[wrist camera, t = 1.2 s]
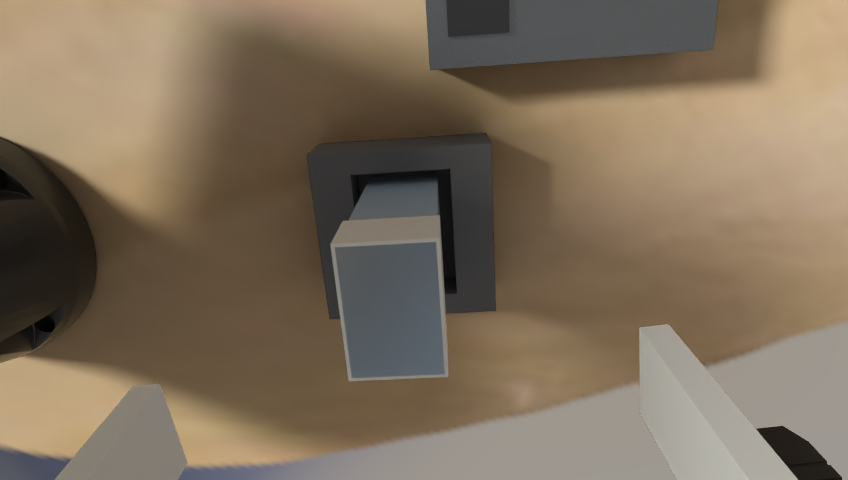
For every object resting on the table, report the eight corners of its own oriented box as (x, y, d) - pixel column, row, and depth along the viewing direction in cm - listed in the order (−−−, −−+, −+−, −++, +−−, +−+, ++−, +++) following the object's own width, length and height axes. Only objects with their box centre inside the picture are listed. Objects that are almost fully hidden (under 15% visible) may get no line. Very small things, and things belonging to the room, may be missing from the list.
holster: (339, 294, 37) (329, 319, 34) (319, 143, 34) (306, 155, 30) (490, 286, 37) (495, 311, 33) (485, 132, 33) (490, 143, 30)
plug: (377, 272, 35) (348, 381, 24) (367, 174, 33) (330, 244, 22) (445, 268, 35) (448, 376, 24) (439, 170, 33) (439, 237, 22)
